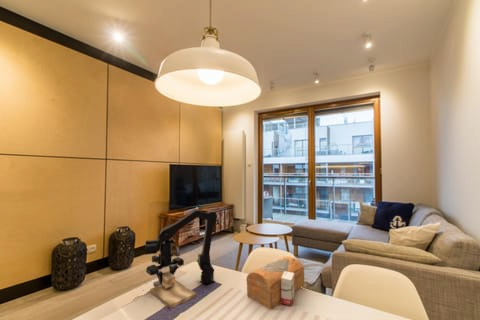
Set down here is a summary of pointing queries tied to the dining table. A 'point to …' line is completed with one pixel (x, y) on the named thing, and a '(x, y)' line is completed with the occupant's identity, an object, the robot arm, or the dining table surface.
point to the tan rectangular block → (168, 280)
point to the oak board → (173, 294)
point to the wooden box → (273, 281)
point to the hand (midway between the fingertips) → (165, 282)
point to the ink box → (287, 288)
